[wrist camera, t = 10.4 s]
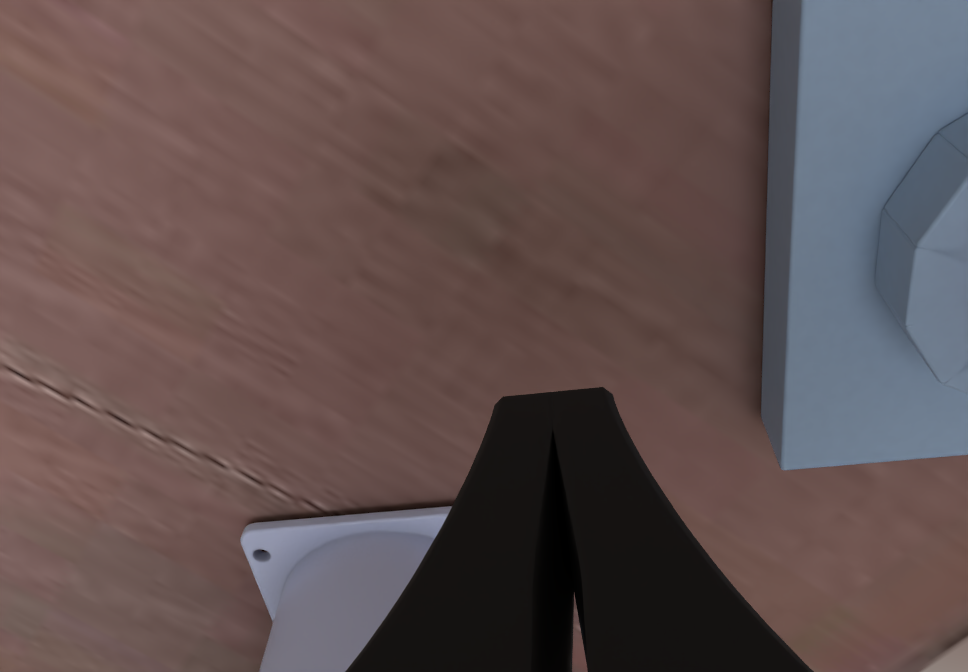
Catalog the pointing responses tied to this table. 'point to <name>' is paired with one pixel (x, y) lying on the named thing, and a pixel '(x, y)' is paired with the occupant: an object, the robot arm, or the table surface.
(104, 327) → the table surface
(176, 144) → the table surface
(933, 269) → the block
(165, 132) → the table surface
